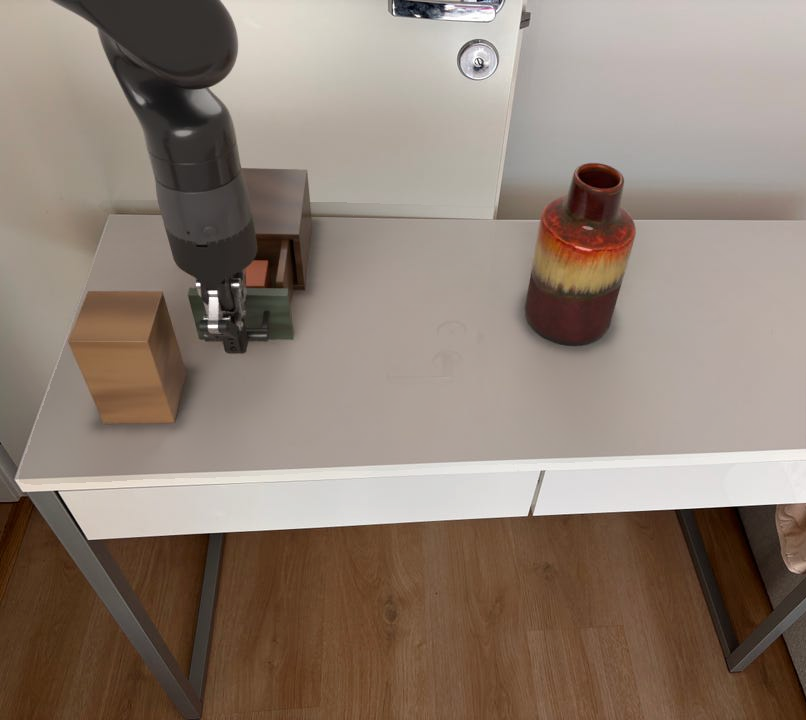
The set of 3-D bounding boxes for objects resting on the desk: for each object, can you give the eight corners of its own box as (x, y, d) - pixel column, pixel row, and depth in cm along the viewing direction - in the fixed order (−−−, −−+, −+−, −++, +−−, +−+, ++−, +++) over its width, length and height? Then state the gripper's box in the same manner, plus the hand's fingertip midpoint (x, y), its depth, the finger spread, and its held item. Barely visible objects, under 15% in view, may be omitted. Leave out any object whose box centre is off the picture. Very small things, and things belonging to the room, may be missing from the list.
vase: (521, 340, 91) (546, 198, 76) (527, 282, 98) (550, 143, 84) (610, 352, 91) (652, 212, 76) (609, 293, 98) (647, 155, 84)
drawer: (290, 366, 84) (283, 322, 79) (192, 367, 82) (180, 322, 78) (301, 269, 95) (296, 225, 90) (215, 268, 94) (206, 223, 89)
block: (268, 315, 87) (264, 285, 84) (228, 315, 87) (222, 285, 84) (272, 289, 90) (268, 260, 87) (233, 289, 90) (227, 259, 87)
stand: (174, 423, 78) (147, 341, 70) (103, 424, 77) (67, 341, 69) (186, 373, 83) (162, 291, 74) (119, 373, 82) (87, 290, 73)
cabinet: (305, 290, 94) (299, 234, 88) (208, 289, 92) (195, 232, 86) (312, 224, 103) (307, 169, 97) (224, 222, 102) (213, 167, 95)
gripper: (177, 170, 71) (210, 306, 84) (147, 260, 62) (188, 397, 75) (259, 172, 72) (279, 306, 84) (241, 261, 63) (266, 396, 75)
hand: (237, 348), depth 79 cm, fingers closed
